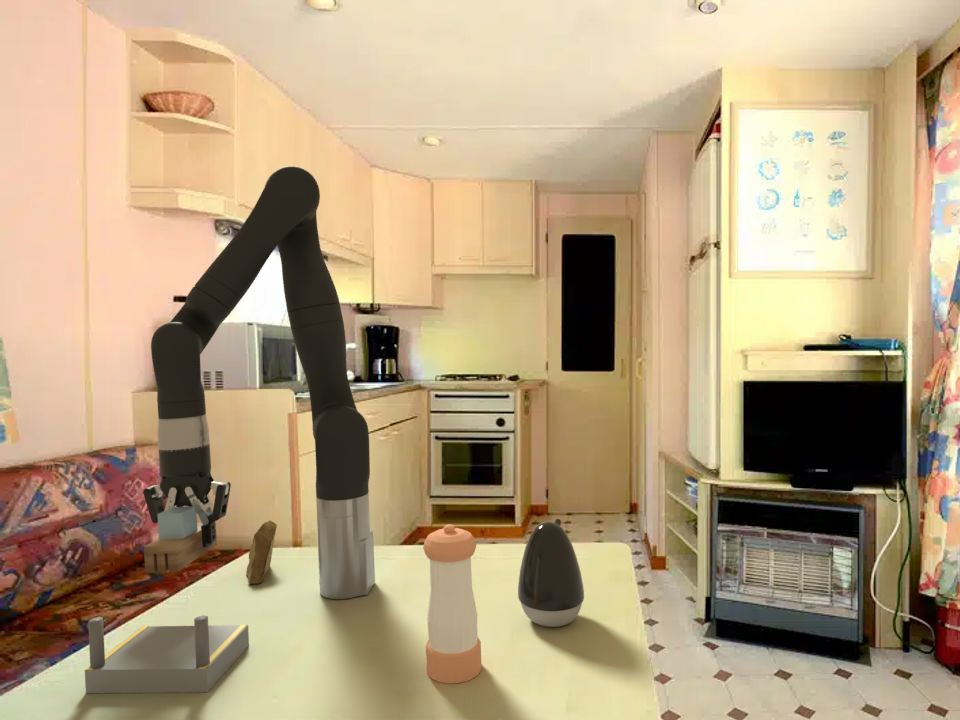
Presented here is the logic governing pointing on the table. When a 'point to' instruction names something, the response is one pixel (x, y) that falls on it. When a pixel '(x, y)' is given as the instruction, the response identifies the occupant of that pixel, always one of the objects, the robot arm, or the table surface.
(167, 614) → the table surface
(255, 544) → the rock
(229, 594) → the table surface
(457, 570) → the salt shaker
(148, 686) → the dock
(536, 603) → the dark grey egg shape
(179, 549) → the pallet
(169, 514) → the pale blue cube
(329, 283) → the robot arm
